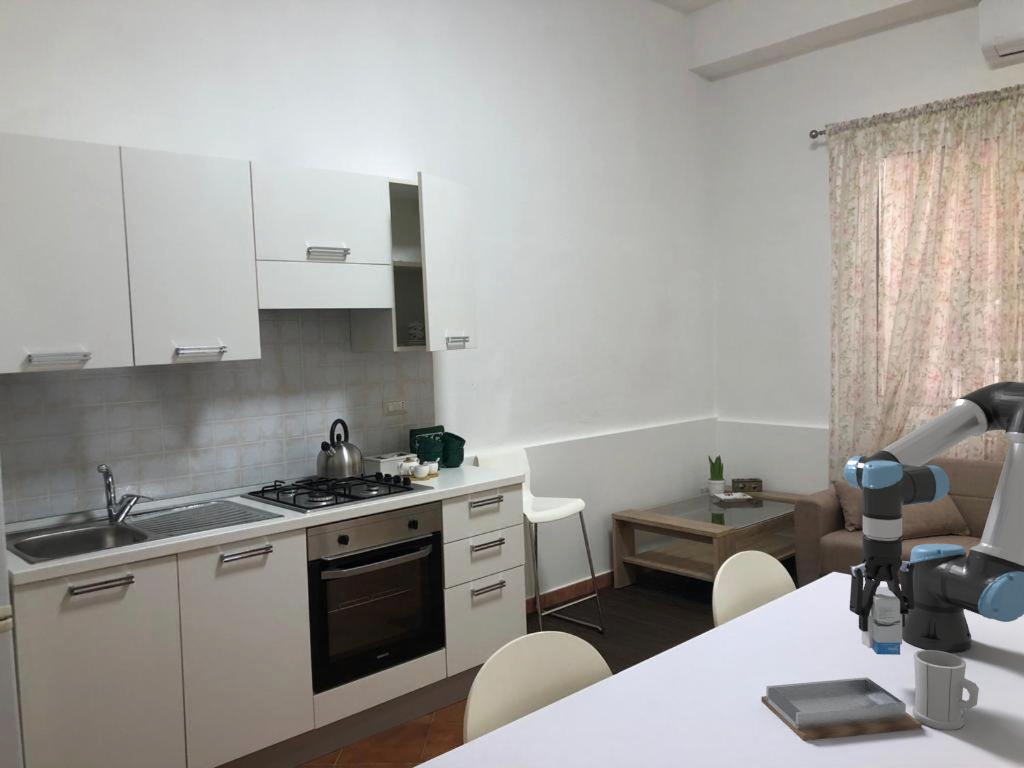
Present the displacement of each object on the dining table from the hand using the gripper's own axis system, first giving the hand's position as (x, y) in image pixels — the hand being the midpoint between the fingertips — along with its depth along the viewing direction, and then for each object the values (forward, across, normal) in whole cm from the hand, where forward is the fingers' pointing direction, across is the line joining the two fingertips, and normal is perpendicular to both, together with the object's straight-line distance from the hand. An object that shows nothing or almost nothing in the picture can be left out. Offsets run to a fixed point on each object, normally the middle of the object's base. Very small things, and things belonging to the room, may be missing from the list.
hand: (881, 643), depth 172 cm
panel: (+8, +17, +11) cm, 22 cm away
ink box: (+1, 0, 0) cm, 1 cm away
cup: (+9, -1, +17) cm, 19 cm away
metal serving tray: (+8, +18, +11) cm, 23 cm away
